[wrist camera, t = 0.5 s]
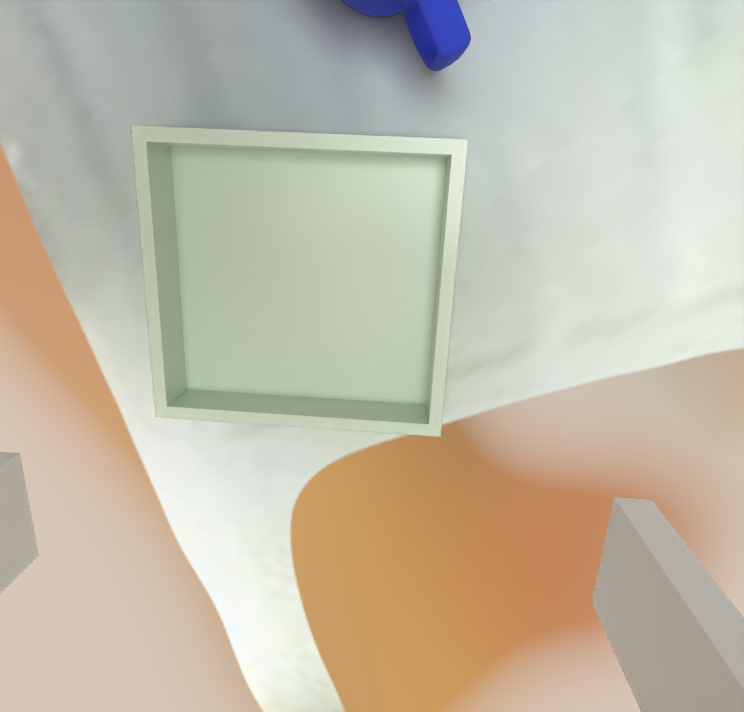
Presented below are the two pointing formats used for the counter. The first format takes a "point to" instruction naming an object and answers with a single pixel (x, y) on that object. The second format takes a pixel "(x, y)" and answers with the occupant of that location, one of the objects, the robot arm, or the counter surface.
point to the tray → (299, 275)
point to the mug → (426, 26)
